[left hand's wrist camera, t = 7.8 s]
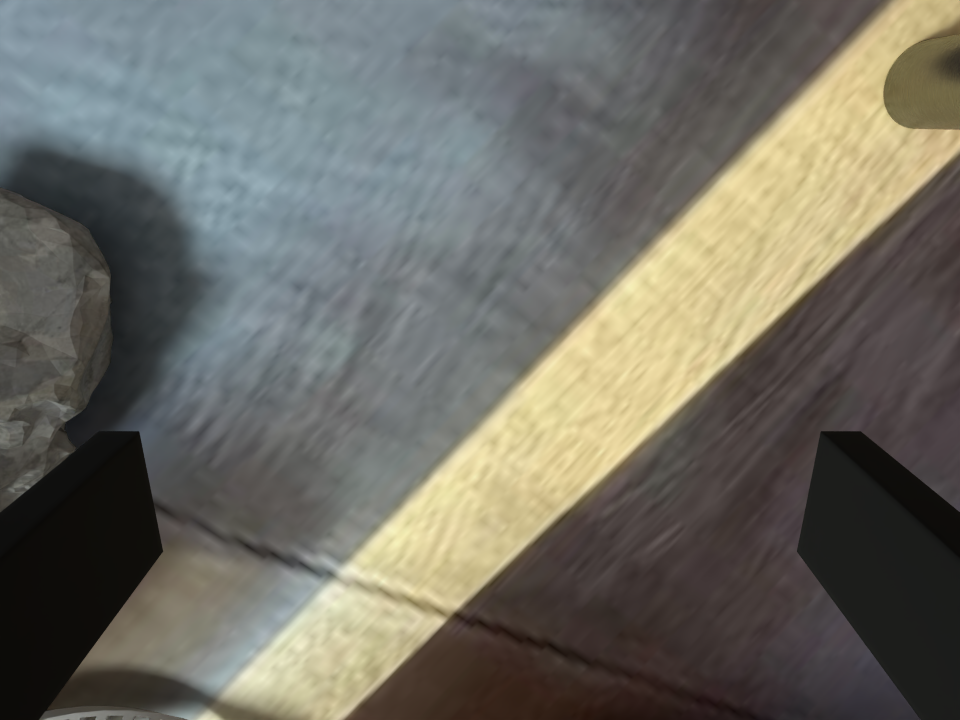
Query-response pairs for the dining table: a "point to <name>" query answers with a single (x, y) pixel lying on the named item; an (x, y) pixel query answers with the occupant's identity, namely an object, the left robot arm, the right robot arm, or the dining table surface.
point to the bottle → (926, 85)
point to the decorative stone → (46, 336)
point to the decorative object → (103, 713)
